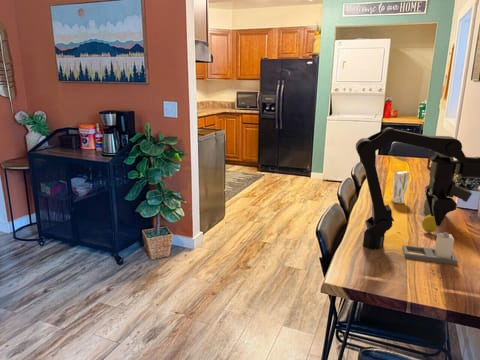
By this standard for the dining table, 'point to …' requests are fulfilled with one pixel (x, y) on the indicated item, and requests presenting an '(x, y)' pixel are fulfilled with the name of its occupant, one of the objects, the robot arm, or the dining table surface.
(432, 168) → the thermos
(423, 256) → the socket panel
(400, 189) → the grey marbled block
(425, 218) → the lemon
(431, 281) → the dining table surface
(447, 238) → the plug
